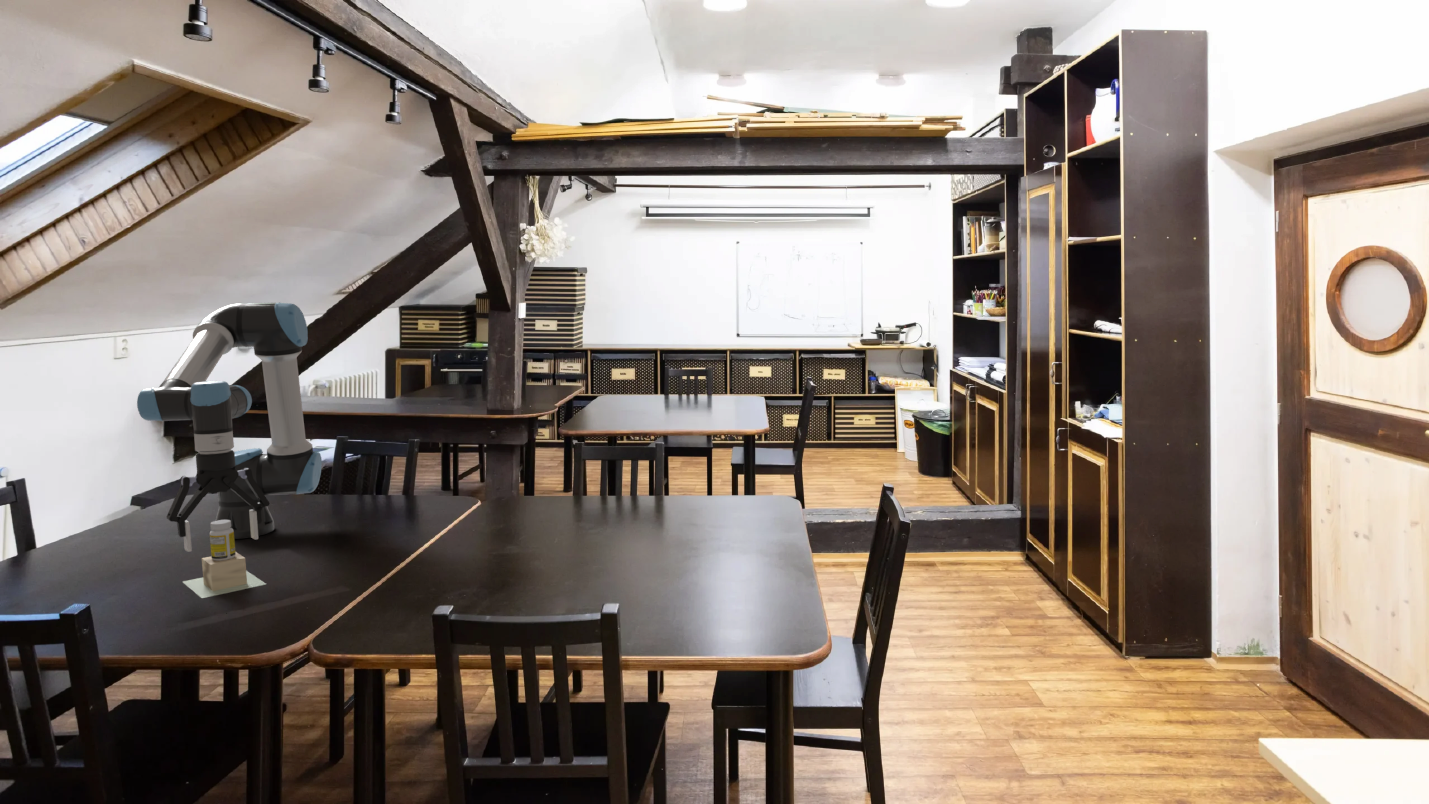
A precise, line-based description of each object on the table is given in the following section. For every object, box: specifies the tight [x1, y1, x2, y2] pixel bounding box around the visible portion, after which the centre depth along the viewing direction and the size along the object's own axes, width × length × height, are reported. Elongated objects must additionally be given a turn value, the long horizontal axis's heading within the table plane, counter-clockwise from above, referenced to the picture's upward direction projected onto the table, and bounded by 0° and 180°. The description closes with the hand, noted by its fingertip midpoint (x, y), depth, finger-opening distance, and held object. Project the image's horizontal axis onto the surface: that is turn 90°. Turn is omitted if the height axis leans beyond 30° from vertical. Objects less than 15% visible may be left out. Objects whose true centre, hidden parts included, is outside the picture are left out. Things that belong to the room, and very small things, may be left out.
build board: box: [182, 570, 267, 599], centre depth 198 cm, size 16×13×1 cm
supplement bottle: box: [209, 520, 236, 561], centre depth 196 cm, size 5×5×8 cm
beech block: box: [201, 551, 247, 591], centre depth 196 cm, size 7×7×6 cm
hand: (222, 544), depth 196 cm, fingers open, 13 cm apart
